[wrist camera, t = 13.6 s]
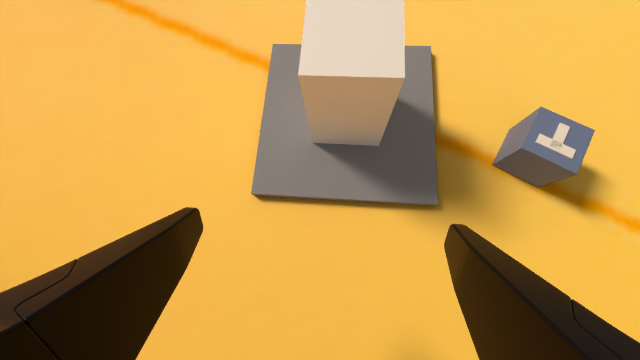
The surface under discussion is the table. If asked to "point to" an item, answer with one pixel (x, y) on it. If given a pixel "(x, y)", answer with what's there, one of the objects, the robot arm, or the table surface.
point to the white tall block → (351, 68)
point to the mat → (343, 159)
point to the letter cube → (544, 148)
